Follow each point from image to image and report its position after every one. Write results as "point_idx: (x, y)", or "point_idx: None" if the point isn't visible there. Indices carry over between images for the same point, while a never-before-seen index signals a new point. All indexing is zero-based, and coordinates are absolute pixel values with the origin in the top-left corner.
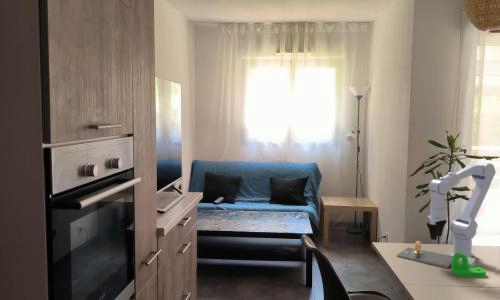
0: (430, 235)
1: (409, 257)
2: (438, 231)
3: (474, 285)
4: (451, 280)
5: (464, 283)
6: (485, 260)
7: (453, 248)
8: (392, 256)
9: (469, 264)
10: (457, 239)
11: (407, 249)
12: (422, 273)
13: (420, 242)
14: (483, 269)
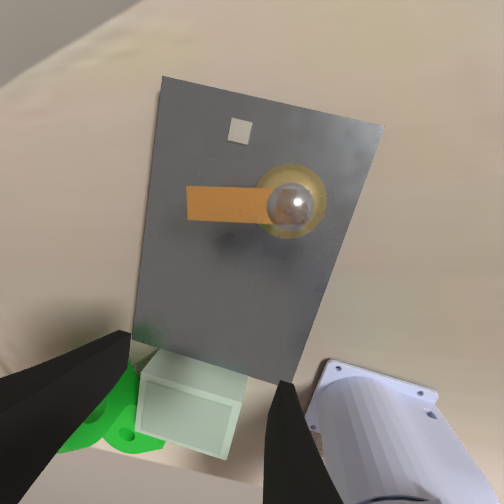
0: (84, 346)
1: (155, 160)
2: (274, 444)
3: None
4: (20, 331)
5: (21, 365)
6: None
7: (362, 404)
8: (181, 50)
9: (136, 423)
10: (349, 493)
11: (324, 128)
12: (20, 234)
13: (272, 223)
14: (144, 450)
